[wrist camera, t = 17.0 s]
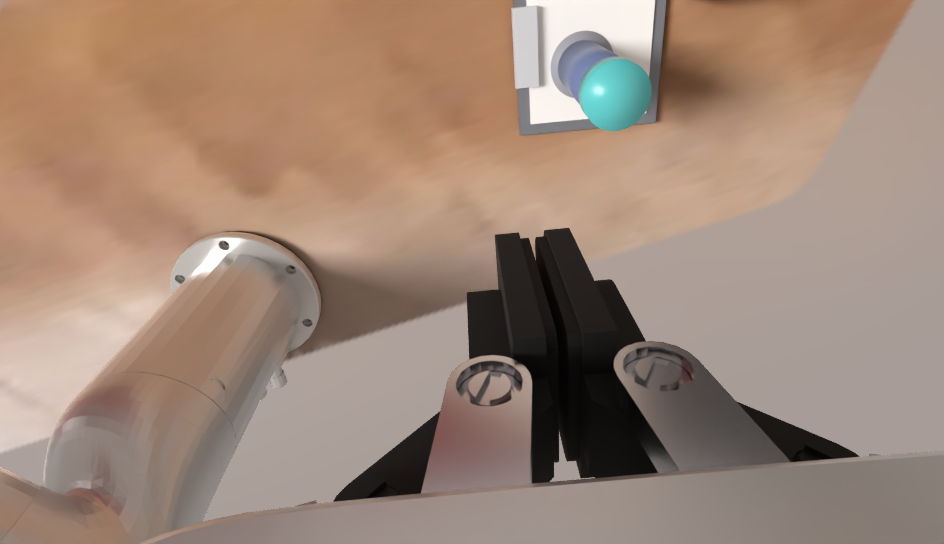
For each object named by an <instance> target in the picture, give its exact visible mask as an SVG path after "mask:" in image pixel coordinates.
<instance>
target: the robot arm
mask: <svg viewBox="0 0 944 544" xmlns="http://www.w3.org/2000/svg"><path fill="white" fill-rule="evenodd" d="M495 245H496V259H497V272H498V286H499V290H488V291H477V292H467V310H468V335H469V358H470V359H469V360H468V361H466V362H464V363H462V364H461V365H459V366H458V367H457V368H456V369H455V370H454V371H453V372H452V373H451V375H450V377H449V379H448V381H447V386H446V390H445V394H444V398H443V402H442V406H441V411H440V412H438V413H437V414H436V415H435V416H433V417H432V418H431V419H430V420H428V421H427V422H426V423H425V424H423V425H422V426H421V427H420V428H418V429H417V430H416V431H415V432H413V433H412V434H411V435H410V436H409V437H407V438H406V439H405V440H403V441H402V442H401V443H400V444H398V445H397V446H396V447H395V448H393V449H392V450H391V451H389V452H388V453H387V454H386V455H384V456H383V457H382V458H381V459H379V460H378V461H377V462H376V463H375V464H373V465H372V466H371V467H369V468H368V469H367V470H366V471H364V472H363V473H362V474H361V475H359V476H358V477H357V478H356V479H354V480H353V481H352V482H351V483H349V484H348V485H347V486H346V487H345V488H344V489H343V490H342V491H341V492H340V493H339V494H338V495H337V496H336V498H335V500H334V501H333V502H326V503H318V504H317V501H316V500H315V501H312V502H309V503H305V504H301V505H298V506H295V507H287V508H279V509H271V510H263V511H256V512H248V513H242V514H237V515H233V516H228V517H223V518H218V519H213V520H208V521H204V522H203V519H204V517H205V514H206V512H207V510H208V507H209V505H210V503H211V500H212V498H213V496H214V494H215V492H216V490H217V488H218V485H219V483H220V481H221V479H222V477H223V475H224V473H225V471H226V469H227V467H228V465H229V463H230V461H231V458H232V457H233V455H234V453H235V450H236V448H237V446H238V444H239V442H240V440H241V438H242V436H243V434H244V432H245V430H246V428H247V426H248V424H249V422H250V420H251V418H252V416H253V414H254V412H255V410H256V408H257V406H258V403H259V401H260V400H262V399H263V398H264V397H265V396H266V394H267V389H266V387H267V385H268V383H269V381H270V383H271V385H272V387H273V388H275V389H278V388H282V387H283V386H285V385H286V383H287V379H286V376H285V374H284V371H283V370H282V368H281V366H282V364H283V362H284V359H285V357H286V355H287V353H288V352H290V351H292V350H294V349H296V348H297V347H299V346H300V345H302V344H303V343H304V342H305V341H306V340H307V339H308V338H309V337H310V336H311V334H312V333H313V331H314V329H315V328H316V325H317V323H318V320H319V318H320V312H321V295H320V292H319V288H318V285H317V283H316V281H315V279H314V277H313V275H312V273H311V272H310V270H309V269H308V268H307V267H306V265H305V264H304V263H303V262H302V261H301V260H300V259H299V258H298V257H297V256H296V255H295V254H294V253H292V252H291V251H289V250H288V249H286V248H285V247H283V246H282V245H280V244H278V243H276V242H274V241H272V240H270V239H267V238H265V237H261V236H258V235H254V234H251V233H243V232H221V233H217V234H213V235H209V236H206V237H204V238H202V239H200V240H198V241H196V242H195V243H194V244H192V245H191V246H190V247H189V248H187V249H186V251H185V252H184V253H183V254H182V255H181V256H180V257H179V258H178V260H177V262H176V263H175V265H174V267H173V270H172V274H171V294H172V295H171V296H170V297H169V298H168V299H167V300H166V301H165V302H164V303H163V304H162V305H161V307H160V308H159V309H158V310H157V311H156V312H155V313H154V314H153V315H152V316H151V317H150V318H149V319H148V320H147V322H146V323H145V324H144V325H143V326H142V327H141V328H140V329H139V330H138V331H137V332H136V333H135V334H134V335H133V337H132V338H131V339H130V340H129V341H128V342H127V343H126V344H125V345H124V346H123V347H122V348H121V349H120V350H119V352H118V353H117V354H116V355H115V356H114V357H113V358H112V359H111V360H110V361H109V362H108V363H107V364H106V366H105V367H104V368H103V369H102V370H101V371H100V372H99V373H98V374H97V375H96V376H95V377H94V378H93V379H92V381H91V382H90V383H89V384H88V385H87V386H86V387H85V388H84V389H83V390H82V391H81V392H80V393H79V395H78V396H77V397H76V398H75V399H74V400H73V401H72V402H71V403H70V404H69V406H68V407H67V408H66V410H65V411H64V412H63V414H62V415H61V417H60V419H59V421H58V422H57V424H56V426H55V428H54V431H53V433H52V436H51V438H50V441H49V444H48V448H47V453H46V458H45V464H44V474H43V486H42V485H39V486H38V485H36V484H34V483H32V482H30V481H28V480H26V479H24V478H22V477H20V476H18V475H16V474H14V473H12V472H10V471H8V470H6V469H4V468H2V467H0V544H944V451H934V452H922V453H907V454H891V455H877V454H869V456H864V457H859V456H858V455H857V454H856V453H854V452H852V451H850V450H848V449H846V448H844V447H842V446H840V445H839V444H837V443H834V442H832V441H829V440H827V439H825V438H822V437H819V436H817V435H815V434H812V433H810V432H808V431H806V430H803V429H801V428H798V427H796V426H794V425H791V424H789V423H786V422H784V421H781V420H779V419H777V418H775V417H772V416H770V415H767V414H765V413H763V412H760V411H758V410H755V409H753V408H750V407H748V406H746V405H743V404H741V403H739V402H736V401H735V400H734V399H733V398H732V397H731V395H730V394H729V393H728V392H727V391H726V390H725V389H724V388H723V387H722V386H721V384H720V383H719V382H718V381H717V380H716V379H715V378H714V377H713V376H712V375H711V374H710V373H709V371H708V370H707V369H706V368H705V367H704V366H703V365H702V364H701V363H700V361H699V360H698V359H696V358H695V357H694V356H693V355H692V354H690V353H689V352H688V351H686V350H684V349H681V348H680V347H678V346H674V345H671V344H667V343H664V342H654V341H648V342H646V341H645V339H644V337H643V335H642V333H641V331H640V329H639V328H638V326H637V324H636V322H635V320H634V318H633V317H632V315H631V313H630V311H629V309H628V307H627V306H626V304H625V302H624V300H623V298H622V297H621V295H620V293H619V291H618V289H617V287H616V285H615V284H614V282H613V281H612V280H598V281H594V279H593V277H592V275H591V273H590V271H589V268H588V266H587V264H586V262H585V260H584V258H583V256H582V254H581V252H580V250H579V248H578V246H577V243H576V241H575V239H574V237H573V235H572V233H571V231H570V229H569V228H563V229H552V230H544V237H536V239H535V251H536V261H535V257H534V254H533V251H532V247H531V244H530V240H529V238H523V239H520V235H519V233H509V234H498V235H495ZM293 266H294V267H293ZM559 432H560V436H561V440H562V445H563V449H564V453H565V457H566V460H567V461H576V462H577V466H578V469H579V473H580V477H581V478H590V477H595V478H592V479H581V480H569V481H558V482H550V480H551V479H552V478H553V477H554V462H559Z"/></svg>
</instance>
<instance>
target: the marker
mask: <svg viewBox="0 0 944 544" xmlns="http://www.w3.org/2000/svg"><path fill="white" fill-rule="evenodd" d="M558 75H559V78H560V80H561V82H562V84H563V85H564V86H565V87H566V89H567V90H568V91H569V92H570V93H571V95H572V96H573V97H574V98H575V100H576V101H577V102H578V103H579V104H580V107H581V109H582V111H583V112H584V114H585V115H586V116H587V117H588V119H589V120H590V121H591V122H592V123H593V124H594V125H595V126H597V127H598V128H601V129H603V130H608V131H618V130H622V129H625V128H628V127H630V126H631V125H633V124H634V123H636V122H637V121H638V120H639V119H640V118H641V117H642V116H643V115H644V113H645V112H646V110H647V108H648V106H649V103H650V100H651V95H652V86H651V81H650V79H649V76H648V75H647V73H646V72H645V70H644V69H643V68H642V67H640V66H639V65H637V64H635V63H634V62H632V61H630V60H628V59H626V58H623V57H619V56H618V55H616V54H614V53H613V52H611V51H609V50H607V49H606V48H604V47H602V46H601V45H599V44H597V43H595V42H593V41H590V40H581V41H577V42H575V43H573V44H571V45H570V46H569V47H567V48H566V49H565V51H564V52H563V54H562V55H561V57H560V60H559V64H558Z"/></svg>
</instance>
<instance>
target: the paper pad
mask: <svg viewBox="0 0 944 544" xmlns="http://www.w3.org/2000/svg"><path fill="white" fill-rule="evenodd" d="M513 2H514V8H511V12H512V33H513V54H514V75H515V88H516V89H517V91H518V113H519V134H520V135H530V134H541V133H551V132H562V131H573V130H583V129H594V128H598V127H597V126H595V125H594V124H593V123H592V122H591V121H590V120H589V119H588V117H587V116H586V115H585V114H584V112H583V111H582V109H581V107H580V104H579V103H578V102H577V101H576V100H575V98H574V97H573V96H572V95H571V93H570V92H569V91H568V90H567V89H566V87H565V86H564V85H563V84H562V82H561V80H560V78H559V75H558V64H559V60H560V57H561V55H562V54H563V52H564V51H565V49H566V48H567V47H569V46H570V45H571V44H573V43H575V42H577V41H581V40H590V41H593V42H595V43H597V44H599V45H601V46H602V47H604V48H606V49H607V50H609V51H611V52H613V53H614V54H616V55H618V56H619V57H623V58H626V59H628V60H630V61H632V62H634V63H635V64H637V65H639V66H640V67H642V68H643V69H644V70H645V72H646V73H647V75H648V76H649V79H650V81H651V86H652V95H651V100H650V103H649V106H648V108H647V110H646V112H645V113H644V115H643V116H642V117H641V118H640V119H639V120H638V121H637V122H636V123H634V124H633V125H636V124H646V123H656V111H657V100H658V89H659V78H660V66H661V55H662V44H663V32H664V21H665V10H666V0H513Z"/></svg>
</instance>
